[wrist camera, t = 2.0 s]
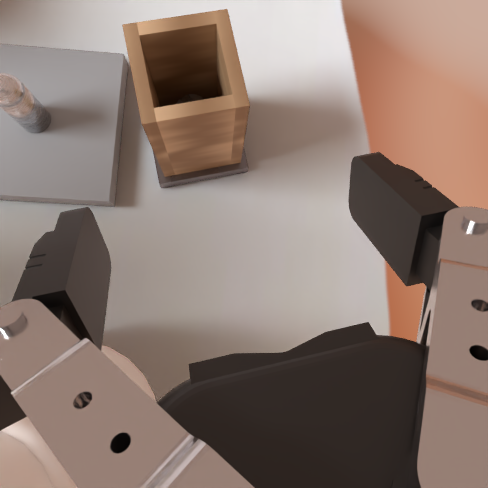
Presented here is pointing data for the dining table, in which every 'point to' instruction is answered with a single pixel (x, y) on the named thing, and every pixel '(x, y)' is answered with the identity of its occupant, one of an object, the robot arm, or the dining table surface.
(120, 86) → the hub plate
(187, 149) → the oak collar
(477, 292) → the robot arm
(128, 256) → the dining table surface
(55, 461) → the honey pot
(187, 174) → the grey-brown square knobbed lid
